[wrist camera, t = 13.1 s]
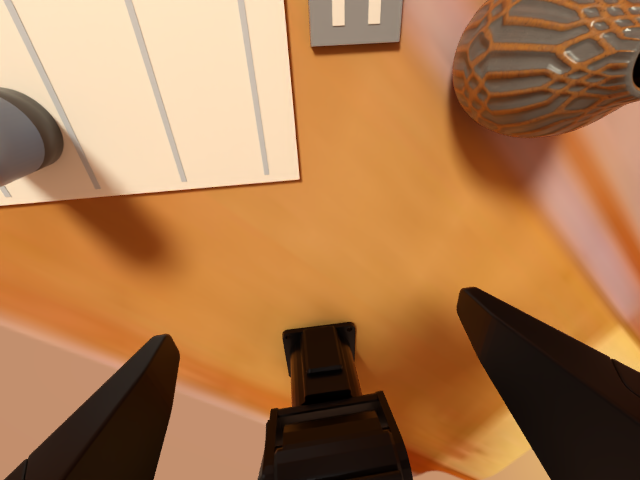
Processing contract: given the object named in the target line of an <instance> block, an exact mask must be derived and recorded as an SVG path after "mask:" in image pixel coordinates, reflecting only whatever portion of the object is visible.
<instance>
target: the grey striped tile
mask: <svg viewBox="0 0 640 480" xmlns="http://www.w3.org/2000/svg"><path fill="white" fill-rule="evenodd" d="M402 2H403V0H308V4H309V23H310V41H311V47H315V46H334V45H352V44H370V43H389V42H399V40H400V27H401V15H402Z"/></svg>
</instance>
